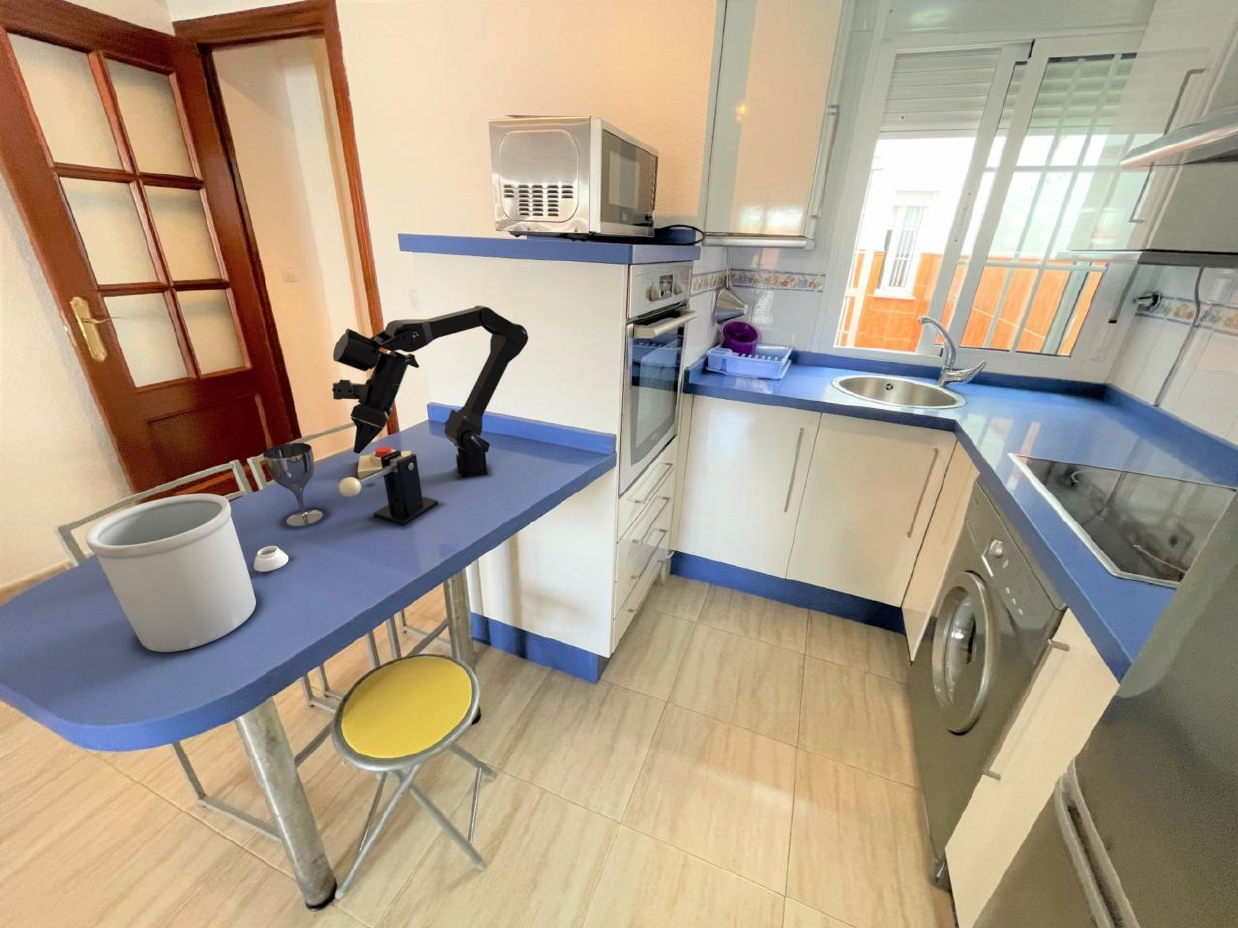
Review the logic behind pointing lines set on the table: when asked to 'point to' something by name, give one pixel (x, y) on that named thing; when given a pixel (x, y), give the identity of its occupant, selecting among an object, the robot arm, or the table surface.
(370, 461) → the button box
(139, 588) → the utensil holder
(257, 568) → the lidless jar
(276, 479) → the wine glass
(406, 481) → the bracket
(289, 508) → the table surface
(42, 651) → the table surface
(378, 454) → the button
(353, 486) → the lever
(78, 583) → the table surface
